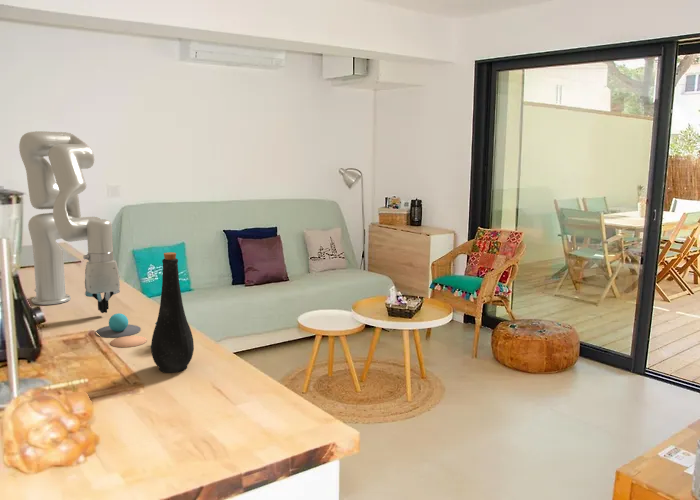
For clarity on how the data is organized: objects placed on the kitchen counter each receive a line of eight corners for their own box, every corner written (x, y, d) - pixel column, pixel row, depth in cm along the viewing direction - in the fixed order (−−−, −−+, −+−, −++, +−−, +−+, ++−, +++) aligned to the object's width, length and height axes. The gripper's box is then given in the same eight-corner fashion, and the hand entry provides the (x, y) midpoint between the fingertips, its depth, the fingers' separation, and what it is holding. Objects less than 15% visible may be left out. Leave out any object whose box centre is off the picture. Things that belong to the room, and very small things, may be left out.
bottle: (182, 377, 151) (179, 258, 146) (143, 373, 153) (139, 255, 148) (201, 362, 161) (199, 251, 156) (164, 359, 163) (161, 248, 158)
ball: (103, 316, 186) (108, 320, 181) (121, 308, 189) (126, 312, 184) (111, 332, 188) (115, 336, 183) (128, 324, 190) (133, 328, 186)
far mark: (103, 342, 176) (103, 341, 176) (133, 334, 184) (133, 333, 184) (123, 349, 170) (123, 349, 170) (153, 341, 178) (153, 340, 178)
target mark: (86, 331, 185) (86, 331, 185) (124, 322, 196) (124, 321, 195) (111, 340, 178) (111, 339, 178) (149, 330, 188) (149, 329, 188)
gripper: (78, 261, 191) (81, 317, 195) (127, 257, 200) (129, 311, 203) (73, 257, 198) (76, 312, 201) (121, 253, 206) (123, 306, 209)
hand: (103, 311), depth 202 cm, fingers closed
